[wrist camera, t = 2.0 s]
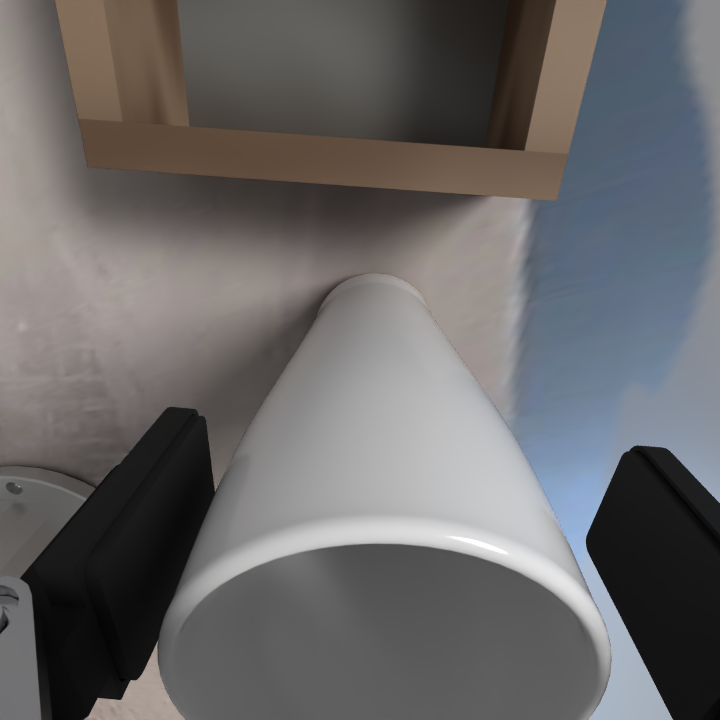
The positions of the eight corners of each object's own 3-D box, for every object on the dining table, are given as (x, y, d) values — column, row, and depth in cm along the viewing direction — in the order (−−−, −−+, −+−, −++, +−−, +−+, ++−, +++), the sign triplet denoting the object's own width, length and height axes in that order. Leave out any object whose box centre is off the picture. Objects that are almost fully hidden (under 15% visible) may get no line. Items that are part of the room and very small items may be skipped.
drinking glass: (412, 405, 21) (482, 823, 8) (285, 363, 21) (121, 753, 7) (471, 284, 19) (737, 611, 5) (327, 230, 18) (190, 451, 4)
